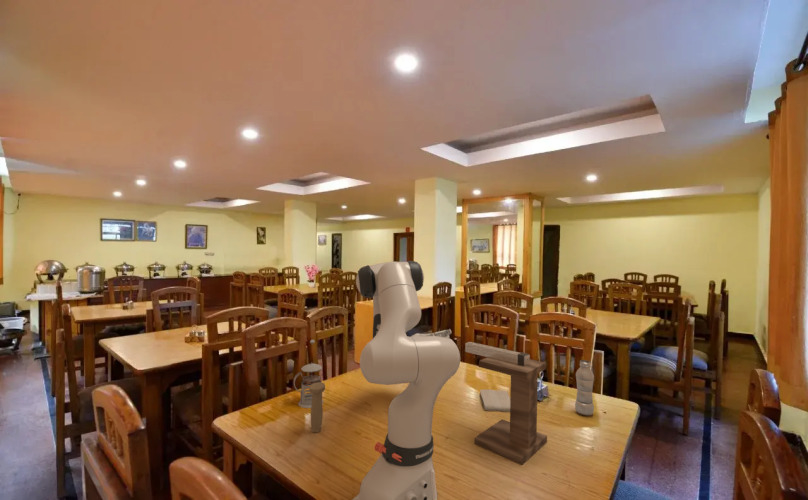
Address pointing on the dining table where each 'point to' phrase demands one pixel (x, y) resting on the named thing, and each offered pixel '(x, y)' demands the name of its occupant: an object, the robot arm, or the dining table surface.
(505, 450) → the mount stand
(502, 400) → the washcloth
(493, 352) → the grey square bar
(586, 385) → the plastic bottle
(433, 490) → the robot arm
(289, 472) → the dining table surface
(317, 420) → the handle
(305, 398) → the french press
